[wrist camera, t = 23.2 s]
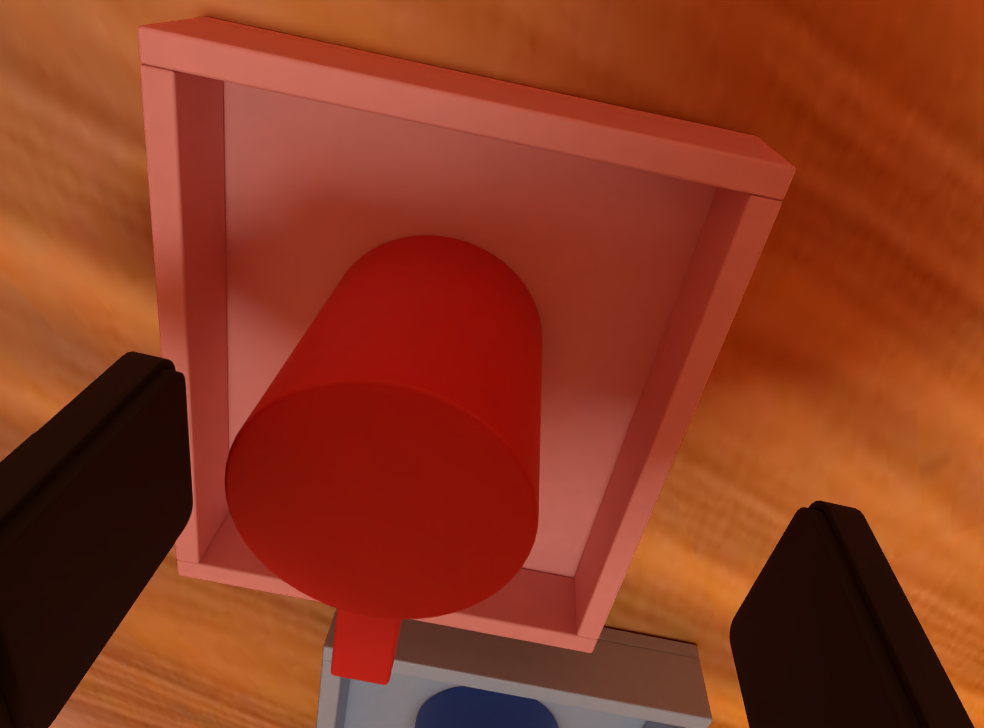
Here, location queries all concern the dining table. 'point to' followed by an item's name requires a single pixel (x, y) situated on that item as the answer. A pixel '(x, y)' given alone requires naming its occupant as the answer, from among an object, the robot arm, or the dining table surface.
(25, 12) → the dining table surface
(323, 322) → the tabbed red cylinder
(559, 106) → the pink tray
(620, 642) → the blue tray
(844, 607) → the robot arm
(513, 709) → the tabbed navy cylinder
